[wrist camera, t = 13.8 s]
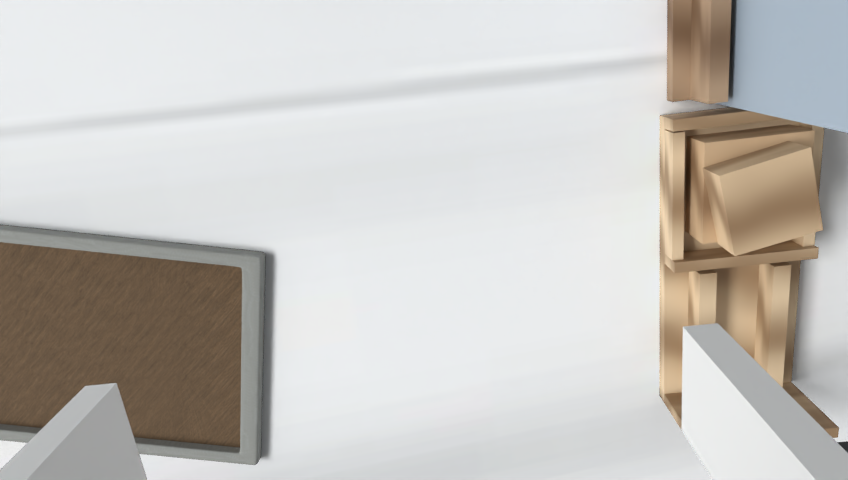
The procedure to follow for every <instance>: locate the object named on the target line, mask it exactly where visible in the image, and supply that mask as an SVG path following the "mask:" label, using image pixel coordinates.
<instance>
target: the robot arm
mask: <svg viewBox="0 0 848 480" xmlns="http://www.w3.org/2000/svg"><path fill="white" fill-rule="evenodd" d="M681 431H682V433H683V434H684V436H685V437H686V439H687V441H688V442H689V444H690V445H691V447H692V448H693V450H694V452H695V453H696V455H697V456H698V458H699V459H700V461H701V463H702V464H703V466H704V467H705V469H706V471H707V472H708V474H709V475H710V477H711V478H712V480H848V442H836V441H835V440H834V439H833V438H832V437H831V436H830V435H829V434H828V433H827V432H826V431H825V430H824V429H823V428H822V427H821V426H820V425H819V424H818V423H817V422H816V421H815V420H814V419H813V418H812V417H811V416H810V415H809V414H808V413H807V412H806V411H805V410H804V409H803V408H802V407H801V406H800V405H799V404H798V403H797V402H796V401H795V400H794V399H793V398H792V397H791V396H790V395H789V394H788V393H787V392H786V391H785V390H784V389H783V388H782V387H781V386H780V385H779V384H778V383H777V382H776V381H775V380H774V379H773V378H772V377H771V376H770V375H769V374H768V373H767V372H766V371H765V370H764V369H763V368H762V367H761V366H760V365H759V364H758V363H757V362H756V361H755V360H754V359H753V358H752V357H751V356H750V355H749V354H748V353H747V352H746V351H745V350H744V349H743V348H742V347H741V346H740V345H739V344H738V343H737V342H736V341H735V340H734V339H733V338H732V337H731V336H730V335H729V334H728V333H727V332H726V331H725V330H724V329H723V328H722V327H721V326H720V325H719V324H718V323H714V324H704V325H694V326H684V327H683V351H682V426H681ZM0 480H147V477H146V474H145V471H144V468H143V465H142V462H141V458H140V455H139V452H138V449H137V446H136V443H135V439H134V436H133V433H132V430H131V427H130V424H129V421H128V417H127V414H126V411H125V408H124V405H123V402H122V398H121V395H120V392H119V389H118V386H117V383H110V384H100V385H90V386H85V387H84V388H83V389H82V390H81V391H80V392H79V393H78V394H77V395H76V396H75V397H74V398H73V399H72V400H71V401H70V402H68V403H67V404H66V405H65V406H64V407H63V408H62V409H61V410H60V411H59V412H58V413H57V414H56V415H55V416H54V417H53V418H52V419H51V420H50V421H49V422H48V423H47V424H46V425H45V426H44V427H43V428H42V429H41V430H40V431H39V432H38V433H37V434H36V435H35V436H34V437H33V438H32V439H31V440H30V441H29V442H28V443H27V444H26V445H25V446H24V447H23V448H22V449H21V450H20V451H19V452H18V453H17V454H16V455H15V456H14V457H13V458H12V459H11V460H10V461H9V462H8V463H7V464H6V465H5V466H4V467H3V468H2V469H1V470H0Z"/></svg>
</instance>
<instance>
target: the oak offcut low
mask: <svg viewBox="0 0 848 480" xmlns="http://www.w3.org/2000/svg"><path fill="white" fill-rule="evenodd" d="M814 135H815V130H811V129H807V128H803V127H798V126H794V125H790V124H788V125H779V126H770V127H762V128H753V129H745V130H736V131H727V132H719V133H710V134H701V135H693V136H687V149H686V221H685V231H686V232H687V233H689V234H690V235H691V236H693V237H694V238H695V239H697V240H698V241H699V242H701V243H702V244H707V243H716V242H717V237H716V232H715V228H714V223H713V218H712V213H711V208H710V203H709V198H708V193H707V188H706V183H705V178H704V173H703V168H704V167H707V166H710V165H713V164H716V163H720V162H723V161H726V160H729V159H732V158H735V157H739V156H742V155H745V154H748V153H751V152H754V151H758V150H761V149H764V148H767V147H770V146H773V145H776V144H780V143H783V142H786V141H791V142H795V143H798V144H802V145H805V146H809V147H811V150H812V157H813V148H814Z"/></svg>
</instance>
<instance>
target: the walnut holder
mask: <svg viewBox="0 0 848 480" xmlns="http://www.w3.org/2000/svg"><path fill="white" fill-rule="evenodd" d="M731 1H732V0H668V11H667V100H668V101H672V102H674V101H683V100H694V101H698V102H703V103H707V104H713V103H721V102H728V88H729V59H730V30H731Z"/></svg>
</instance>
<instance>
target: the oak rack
mask: <svg viewBox="0 0 848 480" xmlns="http://www.w3.org/2000/svg"><path fill="white" fill-rule="evenodd" d="M788 124H790V125H794V126H798V127H803V128H807V129H811V130H815V135H814V148H813V164H814V171H815V178H816V185H817V192H818V196H819V185H820V173H821V161H822V149H823V137H824V128H823V127H819V126H814V125H810V124H805V123H801V122H796V121H792V120H787V119H783V118H778V117H774V116H769V115H765V114H760V113H756V112H751V111H747V110H742V109H738V108H734V107H728V108H720V109H711V110H703V111H694V112H686V113H677V114H669V115H660V397H661V398H662V400H663V401H664V403H665V405H666V406H667V408H668V409H669V411H670V412H671V414H672V416H673V417H674V419H675V420H676V422H677V424H678V425H679V427H680V428H681V426H682V351H683V327H684V326H694V325H704V324H714V323H718V324H719V325H720V326H721V327H722V328H723V329H724V330H725V331H726V332H727V333H728V334H729V335H730V336H731V337H732V338H733V339H734V340H735V341H736V342H737V343H738V344H739V345H740V346H741V347H742V348H743V349H744V350H745V351H746V352H747V353H748V354H749V355H750V356H751V357H752V358H753V359H754V360H755V361H756V362H757V363H758V364H759V365H760V366H761V367H762V368H763V369H764V370H765V371H766V372H767V373H768V374H769V375H770V376H771V377H772V378H773V379H774V380H775V381H776V382H777V383H778V384H779V385H780V386H781V387H782V388H783V389H784V390H785V391H786V392H787V393H788V394H789V395H790V396H791V397H792V398H793V399H794V400H795V401H796V402H797V403H798V404H799V405H800V406H801V407H802V408H803V409H804V410H805V411H806V412H807V413H808V414H809V415H810V416H811V417H812V418H813V419H814V420H815V421H816V422H817V423H818V424H819V425H820V426H821V427H822V428H823V429H824V430H825V431H826V432H827V433H828V434H829V435H830V436H831V437H832V438H835V437H838V431H839V427H838V426H837V425H836V424H834V423H833V422H832V421H831V420H830V419H829V418H828V417H827V416H826V415H825V414H824V413H823V412H822V411H821V410H820V409H819V408H818V407H817V406H816V405H815V404H814V403H813V402H811V401H810V400H809V399H808V398H807V397H806V396H805V395H804V394H803V393H802V392H801V391H800V390H799V389H798V388H797V387H796V386H795V385H794V384H793V383H792V382H791V379H792V366H793V353H794V340H795V327H796V314H797V301H798V288H799V275H800V262H801V260H807V259H817V258H818V249H819V248H818V247H816V246H814V244H815V233H811V234H808V235H805V236H801V237H798V238H795V239H791V240H788V241H784V242H781V243H778V244H774V245H771V246H768V247H764V248H761V249H758V250H754V251H751V252H748V253H744V254H741V255H737V256H734V255H733V254H731V253H730V252H728V251H727V250H726V249H724V248H723V247H721V246H720V245H719V244H718V242H716V243H707V244H702V243H701V242H699V241H698V240H697V239H695V238H694V237H693V236H691V235H690V234H689V233H687V232H686V231H685V221H686V149H687V136H693V135H701V134H710V133H719V132H727V131H736V130H745V129H753V128H762V127H770V126H779V125H788Z"/></svg>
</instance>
